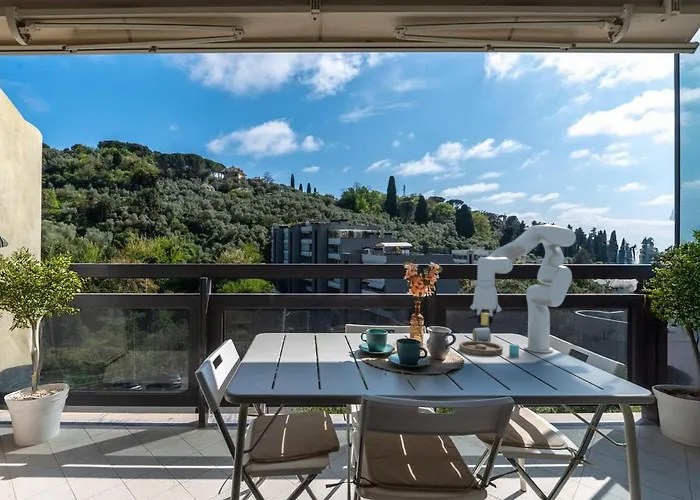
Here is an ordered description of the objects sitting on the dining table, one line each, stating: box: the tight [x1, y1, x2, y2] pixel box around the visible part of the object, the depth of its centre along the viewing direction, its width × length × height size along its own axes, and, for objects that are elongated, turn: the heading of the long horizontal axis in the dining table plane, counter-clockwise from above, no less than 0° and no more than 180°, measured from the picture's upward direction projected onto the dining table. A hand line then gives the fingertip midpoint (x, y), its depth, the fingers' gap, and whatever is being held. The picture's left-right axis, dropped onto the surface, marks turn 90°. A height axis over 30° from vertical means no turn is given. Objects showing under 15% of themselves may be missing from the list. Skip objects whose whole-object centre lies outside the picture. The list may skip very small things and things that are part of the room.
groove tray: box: [458, 340, 504, 357], centre depth 197 cm, size 19×19×2 cm
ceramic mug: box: [472, 327, 492, 342], centre depth 214 cm, size 11×8×8 cm
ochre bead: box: [480, 312, 490, 326], centre depth 189 cm, size 4×4×5 cm
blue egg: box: [508, 343, 520, 358], centre depth 188 cm, size 4×4×5 cm
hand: (485, 323), depth 189 cm, fingers closed on ochre bead, 3 cm apart
